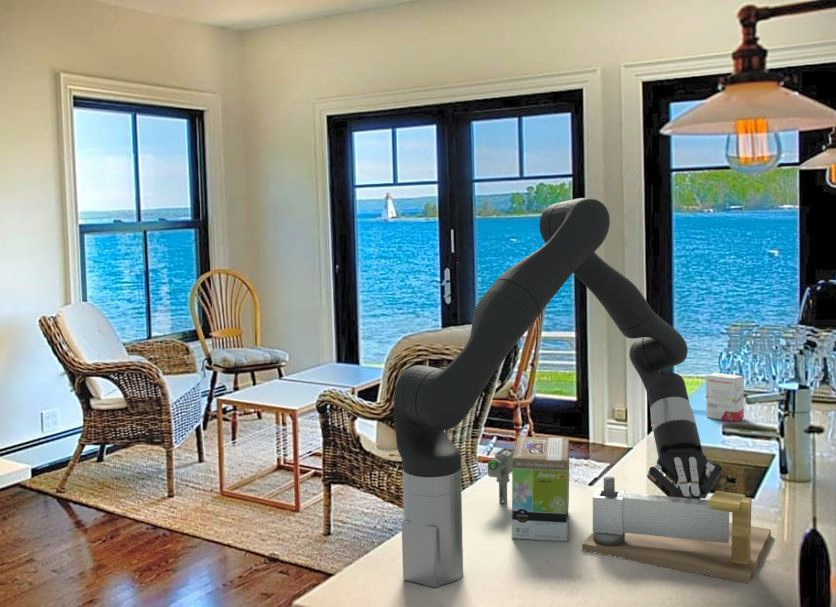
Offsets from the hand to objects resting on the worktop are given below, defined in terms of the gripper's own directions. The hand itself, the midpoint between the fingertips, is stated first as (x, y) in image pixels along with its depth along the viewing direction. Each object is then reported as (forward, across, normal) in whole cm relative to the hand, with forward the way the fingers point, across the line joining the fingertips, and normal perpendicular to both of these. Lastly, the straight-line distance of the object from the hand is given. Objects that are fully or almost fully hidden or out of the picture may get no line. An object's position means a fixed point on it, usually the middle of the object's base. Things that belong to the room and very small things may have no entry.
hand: (694, 520), depth 139 cm
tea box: (-5, -24, +13) cm, 28 cm away
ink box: (-56, +34, +67) cm, 94 cm away
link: (+2, -6, +1) cm, 6 cm away
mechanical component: (-13, -30, +21) cm, 39 cm away
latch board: (+1, -2, +6) cm, 7 cm away
